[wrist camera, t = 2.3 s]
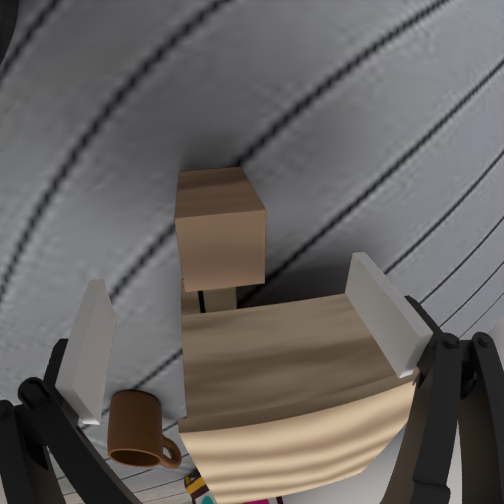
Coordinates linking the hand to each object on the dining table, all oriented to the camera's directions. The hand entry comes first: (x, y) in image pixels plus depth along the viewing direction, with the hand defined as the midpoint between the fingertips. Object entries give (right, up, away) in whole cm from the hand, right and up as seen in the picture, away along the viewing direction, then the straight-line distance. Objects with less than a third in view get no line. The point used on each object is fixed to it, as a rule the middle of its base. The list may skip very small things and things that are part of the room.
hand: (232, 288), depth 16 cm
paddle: (-2, -3, +16) cm, 16 cm away
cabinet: (+3, -10, +21) cm, 24 cm away
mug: (-15, -21, +24) cm, 35 cm away
